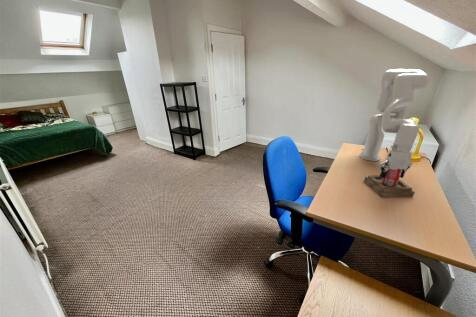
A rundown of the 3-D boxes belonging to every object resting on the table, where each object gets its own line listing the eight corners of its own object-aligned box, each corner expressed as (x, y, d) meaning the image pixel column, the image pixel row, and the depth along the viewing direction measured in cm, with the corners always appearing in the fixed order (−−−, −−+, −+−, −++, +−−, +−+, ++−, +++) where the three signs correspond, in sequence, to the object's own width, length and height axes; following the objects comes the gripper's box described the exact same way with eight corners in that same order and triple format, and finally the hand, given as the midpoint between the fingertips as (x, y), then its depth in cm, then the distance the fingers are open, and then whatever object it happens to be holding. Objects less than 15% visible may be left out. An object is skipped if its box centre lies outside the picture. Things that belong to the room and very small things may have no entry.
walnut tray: (363, 181, 118) (365, 174, 116) (390, 180, 118) (392, 173, 116) (382, 197, 103) (385, 190, 101) (412, 196, 104) (415, 189, 102)
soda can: (391, 180, 112) (398, 161, 107) (399, 187, 106) (407, 167, 101) (378, 180, 113) (384, 161, 108) (385, 187, 107) (392, 167, 102)
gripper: (390, 151, 96) (379, 181, 104) (425, 150, 97) (412, 180, 104) (379, 145, 103) (370, 174, 111) (412, 144, 104) (401, 172, 111)
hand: (391, 176), depth 107 cm, fingers open, 9 cm apart
